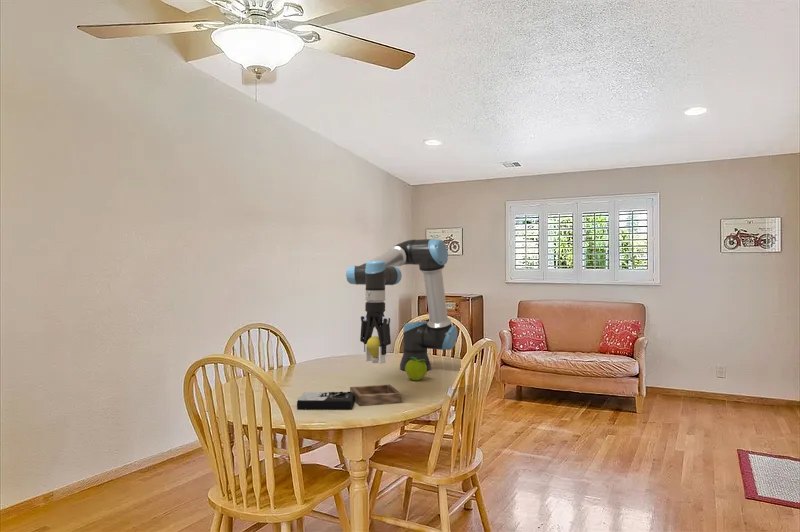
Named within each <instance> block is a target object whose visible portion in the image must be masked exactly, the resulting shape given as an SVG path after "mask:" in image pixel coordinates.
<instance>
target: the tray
mask: <svg viewBox="0 0 800 532" xmlns="http://www.w3.org/2000/svg"><path fill="white" fill-rule="evenodd" d="M349 392H353V393H354V403H356V404H357V405H358V406H359V407H364V406H374V405H375V406H376V405H377V406H379V405H389V404H390V405H391V404H401V403H402V402H403V401H402V400H403V399H402V396H403V395H402V393H401V392H400V391H399V390H397V389H396V388H395V387H394V386H393V385H391V384H389V383H387V384H375V385H362V386H358V385H357V386H349Z"/></svg>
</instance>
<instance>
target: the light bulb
mask: <svg viewBox="0 0 800 532" xmlns="http://www.w3.org/2000/svg"><path fill="white" fill-rule="evenodd" d="M383 343H384V342H383ZM379 345H380V341H379V337H378V335H375V336H372V337H371V338H370V339H369V340H368V341H367V349H368V351H369V352H370V354H371V355H372V357H371V360H372V361H371V362H372V364H379Z"/></svg>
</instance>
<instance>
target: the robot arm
mask: <svg viewBox="0 0 800 532" xmlns="http://www.w3.org/2000/svg"><path fill="white" fill-rule="evenodd" d="M448 257H449V252H448V248H447V245H446V243H445V242H444V241H443V240H442V239H439V238H437V239H435V238H425V239H409V240H405V241H402V242H399V243H398V244H395V245H393V246H392V247H389V249H388V251H386V252H385V253H382V254H381V255H379V256H376V257H374V258H372V259H370V260H368V261H366V262H365V263H363V264H361V265H351V266H349V267H348V268H347V270H346V273H345V277H346V281H347V282H348V283H349V284H351V285H365V301H366V302H365V306H364V307H365V309H364V310H365V312H366V315H362V316H360V322H361V327H360V337H359V341H360V342H361V343H363V345H364V346H363V347H364V349H363V350H364V351H363V352H364V353H365V354H364V362H372V360H371V357H372V355H371V354H370V352H369V351H368V349H367V341H368V340H369V339H370V338H371V337H373V336H372V335H373V332H374V329H376V332H377V337H379V341H380V345H379V356H378V357H379V360H378V364H379V365H382V364H386V355H387V346H389V345H391V344H392V341H391V340H392V339H391V329H390V328H391V327H390V325H391V324H390V323H391V318H390V317H385V314H384V312H386V302H385V301H386V286H394V285H397V284H399V283H400V282H401V280H402V278H403V277H402V276H403V275H402V271H401V270H400V268H399V267H402V266H403V265H406V266H407V265H416V266H417V265H418V267H419V271H421V273H423V280H424V287H425V288H424V289H425V294H426V302H427V309H428V310H427V311H428V316H429V319H428V320H429V321H427V320H419V321H412V322H406V323H404V325H403V331H402V333H403V337H402V338H403V352H402V356H401V360H400V362H399V369H400V370H402V371H404V372H406V371H405V366H406V364H407V362H408V361H409V360H411V359H412V358H409V357H415V358H416V359H417V360H420V359H424V360H422V361H424V362H425V363H426V366H427V371H430V370H431V369H432V367H431V366H432V365H431V360H430V357H429V356H428V349H432V350H442V351H451V350H452V349H454V347H455V345H456V342H457V339H458V328H457V326H456V325H453V324H452V320H451V319H450V318H449V316H448V310H447V301H446V293H445V286H444V278H443V277H444V276H443V270H444V268H445V265H446V264H447V263H448V260H449V258H448ZM383 342H384V343H383ZM425 360H426V361H425Z"/></svg>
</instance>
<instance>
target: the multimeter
mask: <svg viewBox="0 0 800 532" xmlns="http://www.w3.org/2000/svg"><path fill="white" fill-rule="evenodd" d="M354 403H355V401H354V393H353V392H350V391H304V392H303V393H302V394H301V396H299V398H298V399H297V402H296V409H297V411H299V410H300V411H301V410H302V411H349V410H350V411H351V410H352V408H353V405H354Z"/></svg>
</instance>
